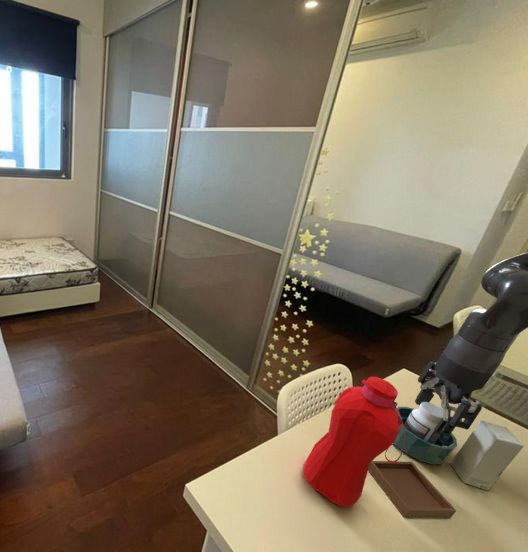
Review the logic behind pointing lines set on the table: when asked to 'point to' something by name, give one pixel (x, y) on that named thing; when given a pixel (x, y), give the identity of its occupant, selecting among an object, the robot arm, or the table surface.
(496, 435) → the box
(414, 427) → the pill bottle
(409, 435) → the bowl
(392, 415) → the water bottle
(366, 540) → the table surface
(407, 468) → the tray
